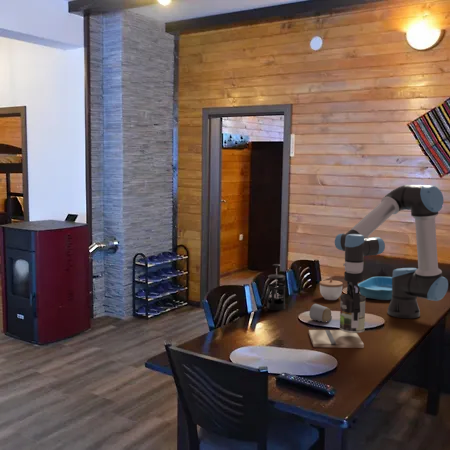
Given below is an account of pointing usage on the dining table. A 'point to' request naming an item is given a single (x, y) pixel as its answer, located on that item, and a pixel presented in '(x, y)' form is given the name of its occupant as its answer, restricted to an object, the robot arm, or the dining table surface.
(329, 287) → the lidded bowl
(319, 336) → the plywood board
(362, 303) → the coffee can
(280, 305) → the french press
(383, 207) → the robot arm
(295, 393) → the dining table surface
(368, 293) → the casserole dish
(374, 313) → the dining table surface
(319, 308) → the ceramic mug
